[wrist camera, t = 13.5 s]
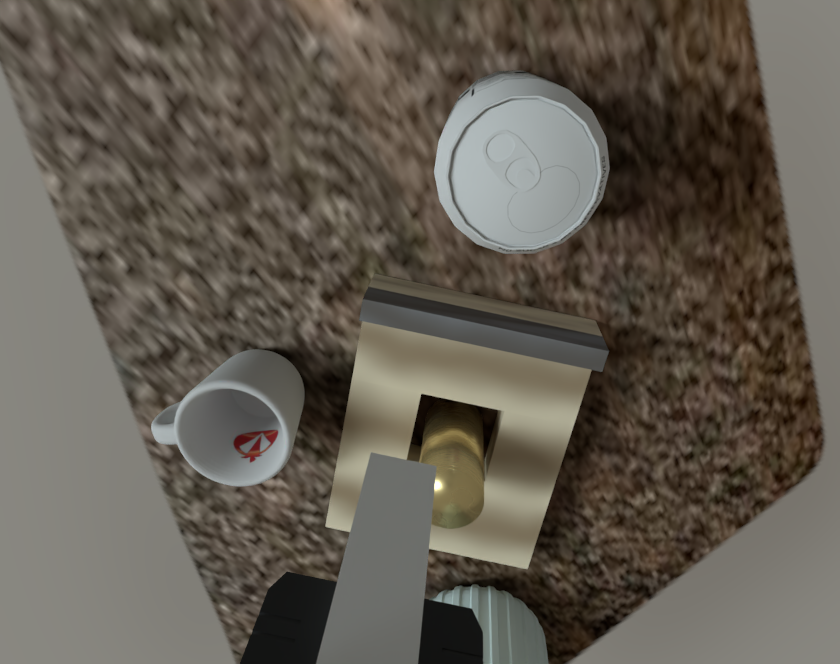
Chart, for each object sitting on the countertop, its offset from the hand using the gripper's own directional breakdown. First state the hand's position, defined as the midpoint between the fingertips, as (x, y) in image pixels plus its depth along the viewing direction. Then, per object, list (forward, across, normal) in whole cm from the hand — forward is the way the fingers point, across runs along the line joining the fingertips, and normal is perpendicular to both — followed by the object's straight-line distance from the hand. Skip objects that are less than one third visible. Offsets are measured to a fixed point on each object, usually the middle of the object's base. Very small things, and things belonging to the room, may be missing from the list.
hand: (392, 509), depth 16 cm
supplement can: (+35, +3, +5) cm, 35 cm away
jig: (+34, +4, -16) cm, 38 cm away
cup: (+35, -12, -17) cm, 40 cm away
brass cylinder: (+34, +4, -16) cm, 38 cm away
